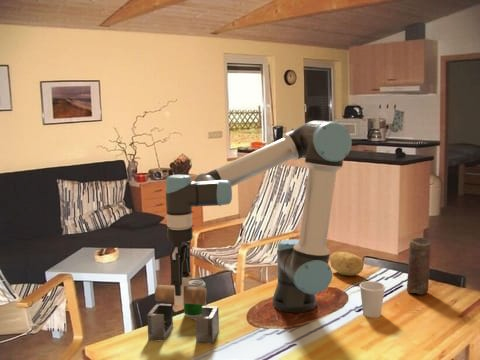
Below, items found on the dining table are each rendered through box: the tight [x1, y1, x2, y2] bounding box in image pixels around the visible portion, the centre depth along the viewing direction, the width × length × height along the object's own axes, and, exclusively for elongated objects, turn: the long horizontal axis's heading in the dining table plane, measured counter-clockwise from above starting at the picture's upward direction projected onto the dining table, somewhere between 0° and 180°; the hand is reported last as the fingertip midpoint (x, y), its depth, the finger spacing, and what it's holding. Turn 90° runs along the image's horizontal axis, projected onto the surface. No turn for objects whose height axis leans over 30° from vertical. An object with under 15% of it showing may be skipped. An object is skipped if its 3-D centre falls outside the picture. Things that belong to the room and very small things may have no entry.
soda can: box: [183, 278, 207, 320], centre depth 168 cm, size 8×8×12 cm
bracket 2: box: [194, 305, 220, 345], centre depth 152 cm, size 5×9×8 cm, turn 170°
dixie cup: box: [359, 280, 387, 319], centre depth 166 cm, size 8×8×10 cm
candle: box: [406, 237, 432, 295], centre depth 182 cm, size 8×7×20 cm
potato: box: [329, 251, 365, 277], centre depth 204 cm, size 10×14×10 cm
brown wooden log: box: [154, 284, 208, 305], centre depth 152 cm, size 15×5×5 cm, turn 80°
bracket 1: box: [146, 303, 174, 342], centre depth 155 cm, size 5×9×8 cm, turn 170°
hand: (182, 301), depth 153 cm, fingers closed on brown wooden log, 5 cm apart
